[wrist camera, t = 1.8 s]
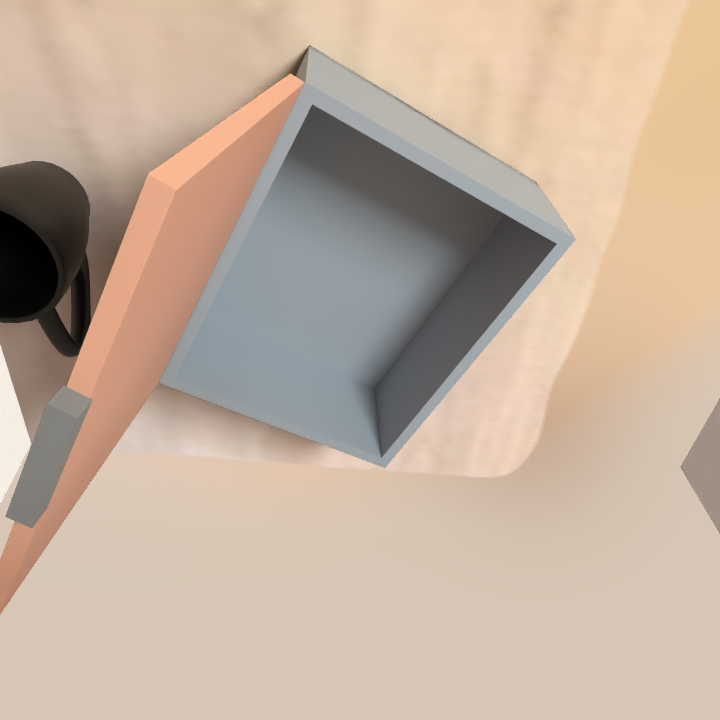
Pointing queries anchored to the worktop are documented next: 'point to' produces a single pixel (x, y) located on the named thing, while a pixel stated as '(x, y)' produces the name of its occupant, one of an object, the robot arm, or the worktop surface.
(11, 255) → the mug
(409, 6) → the worktop surface
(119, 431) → the lid
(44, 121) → the worktop surface
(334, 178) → the box
